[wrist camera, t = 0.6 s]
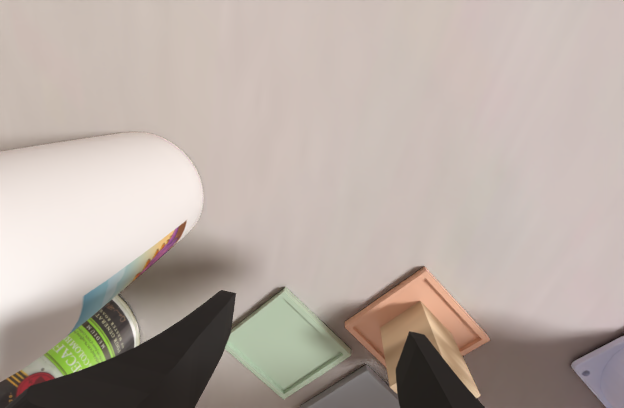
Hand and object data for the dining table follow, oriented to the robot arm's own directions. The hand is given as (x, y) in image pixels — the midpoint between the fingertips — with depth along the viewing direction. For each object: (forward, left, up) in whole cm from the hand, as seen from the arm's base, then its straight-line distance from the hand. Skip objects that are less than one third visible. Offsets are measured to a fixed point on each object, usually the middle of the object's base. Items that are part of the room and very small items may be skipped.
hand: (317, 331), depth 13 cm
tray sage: (-4, +8, -9) cm, 13 cm away
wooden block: (-9, 0, -9) cm, 13 cm away
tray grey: (-13, +8, -9) cm, 18 cm away
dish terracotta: (-9, 0, -9) cm, 13 cm away
